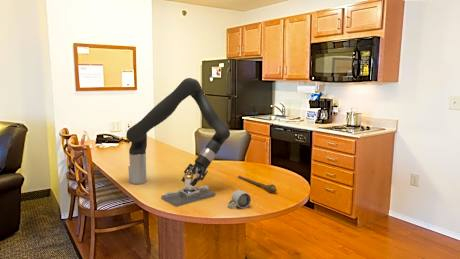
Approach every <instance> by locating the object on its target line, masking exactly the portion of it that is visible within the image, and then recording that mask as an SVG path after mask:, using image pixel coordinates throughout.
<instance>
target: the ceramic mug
mask: <svg viewBox="0 0 460 259" xmlns="http://www.w3.org/2000/svg"><path fill="white" fill-rule="evenodd" d="M251 202H252V198H251V195H250V194H249V193H248V192H246V191H243V190H240V189H239V190H238V189H237V190H235V191H233V193H232V195H231V200H229V201H228V202H227V206H228V208H229V209H234V208H236V207H239V208H240V209H246V208H248V207H249V206H250V204H251ZM233 203H234V204H233Z"/></svg>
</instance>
